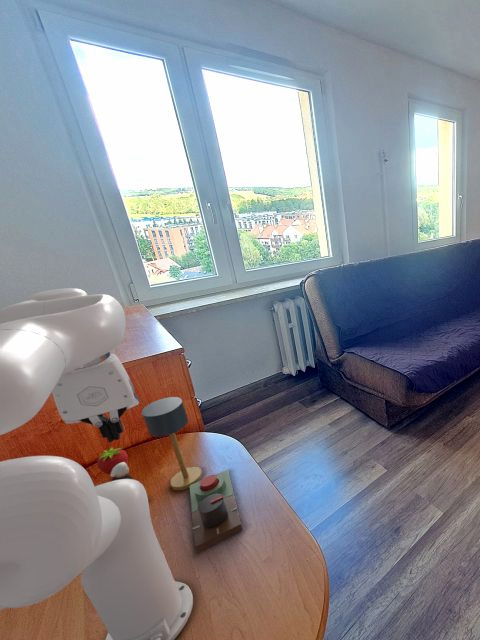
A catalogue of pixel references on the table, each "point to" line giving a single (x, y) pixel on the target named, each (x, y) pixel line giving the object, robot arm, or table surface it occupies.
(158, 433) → the desk lamp
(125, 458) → the strawberry
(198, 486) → the switch base
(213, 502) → the dimmer knob
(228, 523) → the dimmer panel
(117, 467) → the grandmother figurine
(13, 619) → the table surface
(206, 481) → the lamp switch
